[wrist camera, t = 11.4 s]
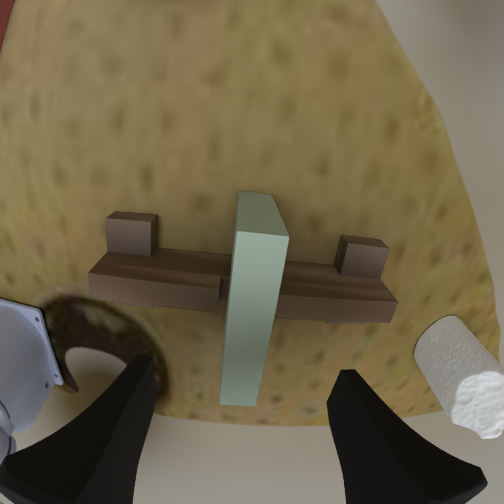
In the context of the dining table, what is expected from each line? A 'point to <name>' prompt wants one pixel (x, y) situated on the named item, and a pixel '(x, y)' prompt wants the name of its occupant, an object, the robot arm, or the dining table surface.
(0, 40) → the plaque
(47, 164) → the dining table surface
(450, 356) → the bottle
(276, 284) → the slotted plate
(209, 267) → the walnut stand
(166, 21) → the dining table surface
